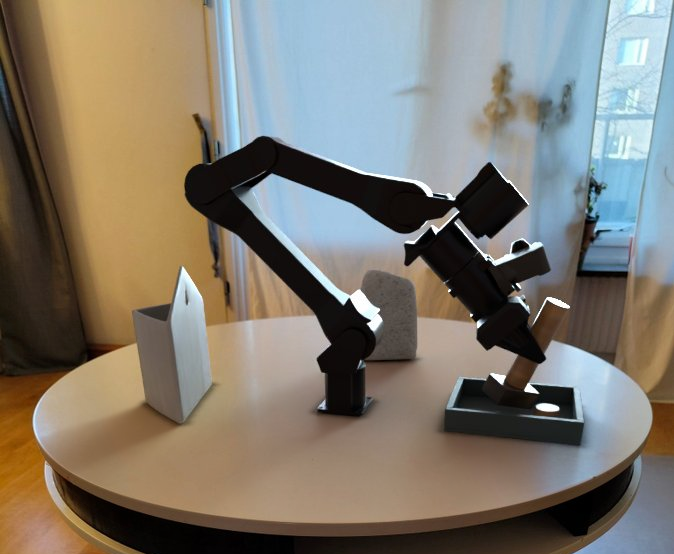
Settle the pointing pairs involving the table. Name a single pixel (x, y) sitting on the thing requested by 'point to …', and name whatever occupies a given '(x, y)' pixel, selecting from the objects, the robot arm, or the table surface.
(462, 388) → the tray
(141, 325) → the planter
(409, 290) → the decorative stone
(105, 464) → the table surface
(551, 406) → the orange brown short cylinder
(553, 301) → the brush
